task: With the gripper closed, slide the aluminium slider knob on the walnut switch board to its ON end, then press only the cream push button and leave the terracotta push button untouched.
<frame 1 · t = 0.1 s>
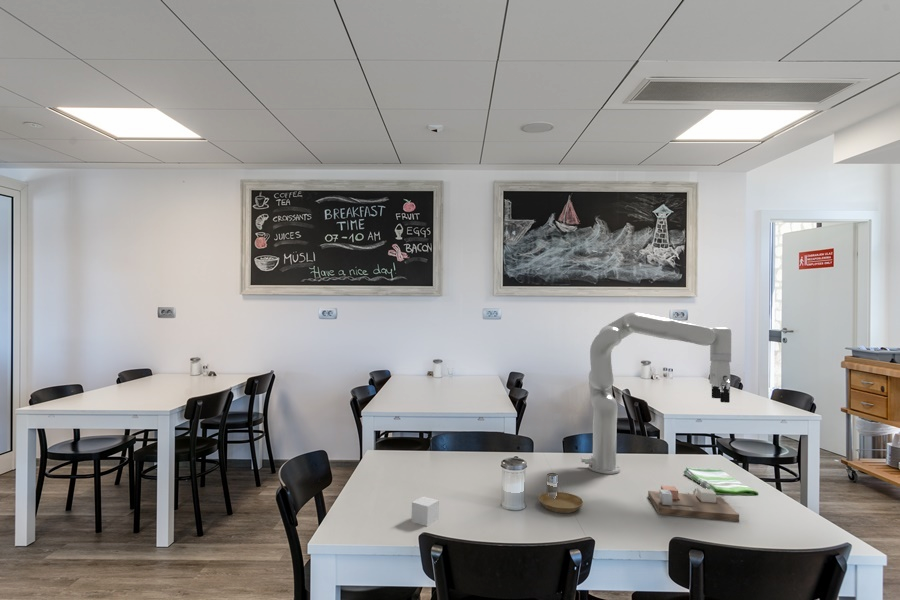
hand: (720, 400, 200), 31 cm above the table, tool pointing down, fingers open, 9 cm apart
terracotta button: (669, 492, 171), point 4 cm above the table, slide at 0.0 cm
dish towel: (719, 485, 192), on the table
switch board: (690, 508, 167), on the table
slider knob: (665, 497, 165), point 4 cm above the table, slide at 0.0 cm
white cube: (425, 521, 153), on the table
plant saucer: (560, 507, 166), on the table
cream button: (706, 495, 169), point 4 cm above the table, slide at 0.0 cm
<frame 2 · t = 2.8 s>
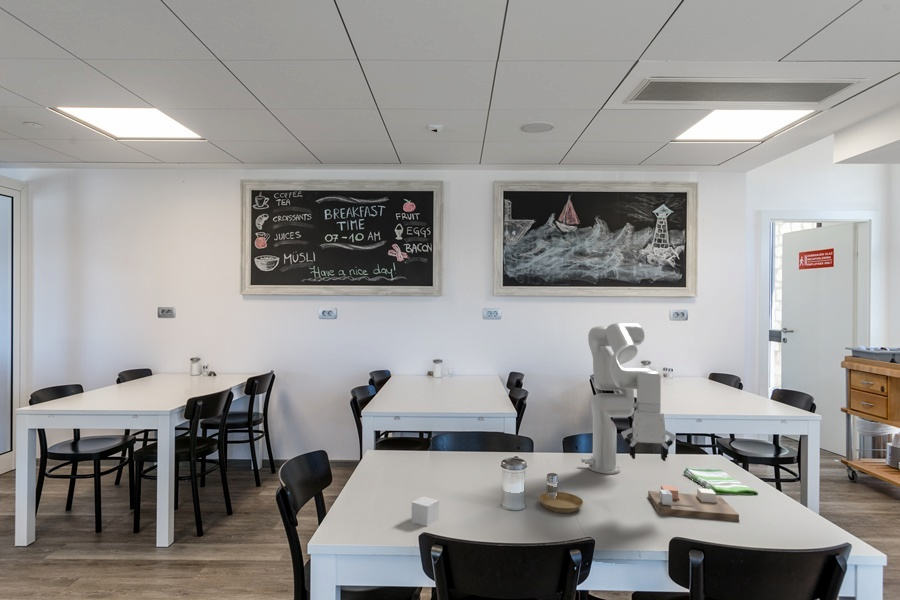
hand: (648, 458, 166), 17 cm above the table, tool pointing down, fingers open, 9 cm apart
nothing on the table moved.
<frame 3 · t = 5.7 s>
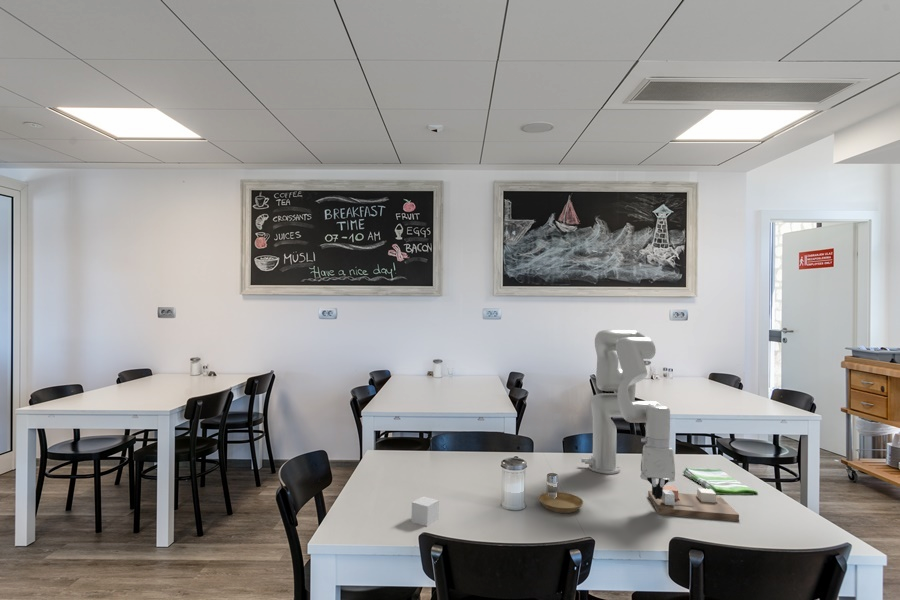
hand: (657, 497, 165), 4 cm above the table, tool pointing down, fingers closed
slider knob: (668, 497, 165), point 4 cm above the table, slide at 0.7 cm, touching gripper
everything else where it was.
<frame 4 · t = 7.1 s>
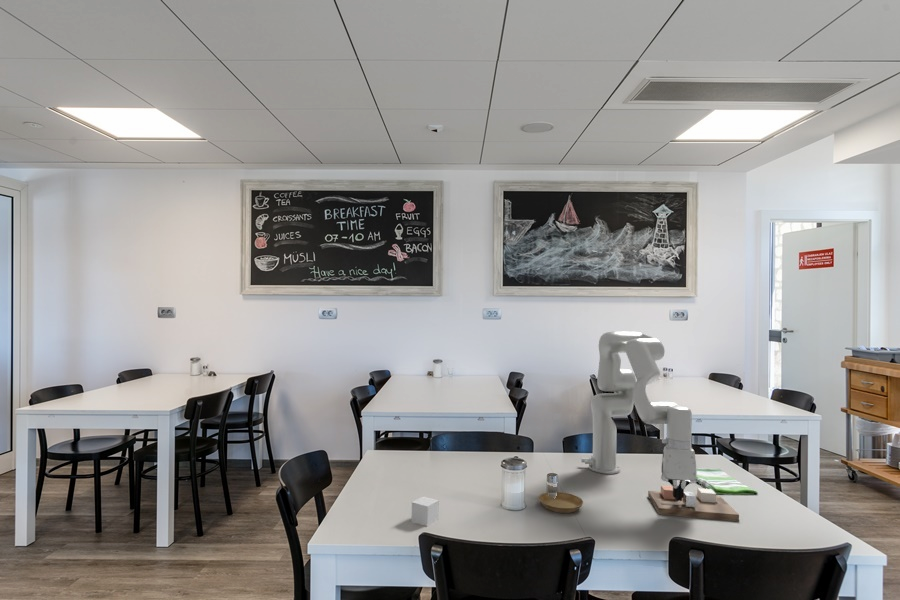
hand: (678, 499, 164), 4 cm above the table, tool pointing down, fingers closed
slider knob: (689, 499, 163), point 4 cm above the table, slide at 7.3 cm, touching gripper
everything else where it was.
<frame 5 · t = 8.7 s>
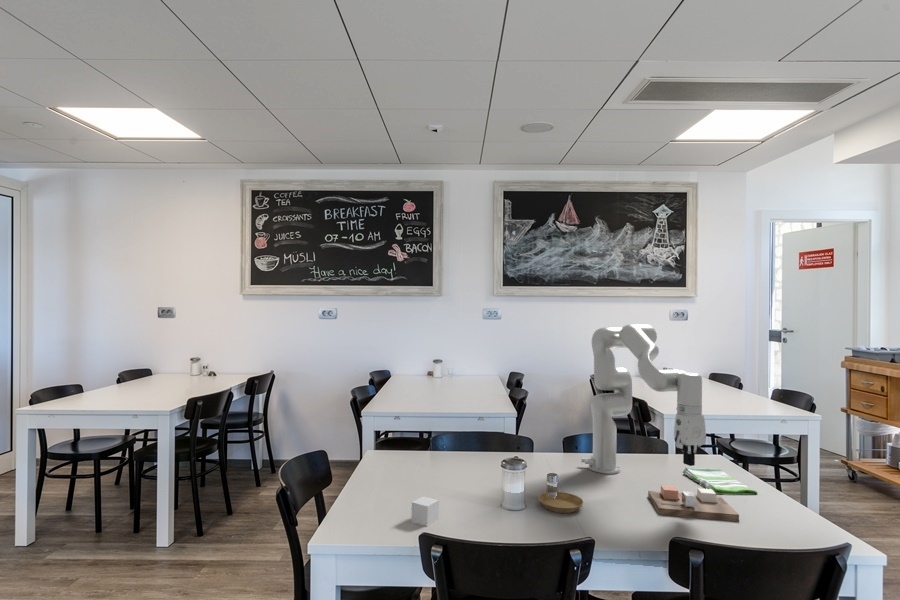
hand: (688, 464, 166), 15 cm above the table, tool pointing down, fingers closed
slider knob: (688, 499, 163), point 4 cm above the table, slide at 7.1 cm
everything else where it was.
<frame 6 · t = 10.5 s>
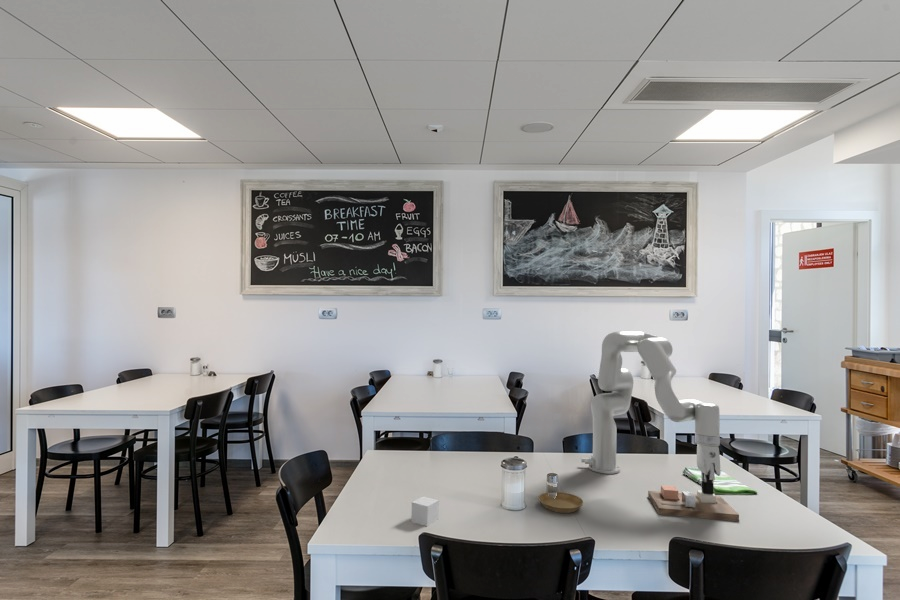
hand: (707, 493, 169), 4 cm above the table, tool pointing down, fingers closed
cream button: (706, 497, 169), point 3 cm above the table, slide at 0.7 cm, touching gripper
everything else where it was.
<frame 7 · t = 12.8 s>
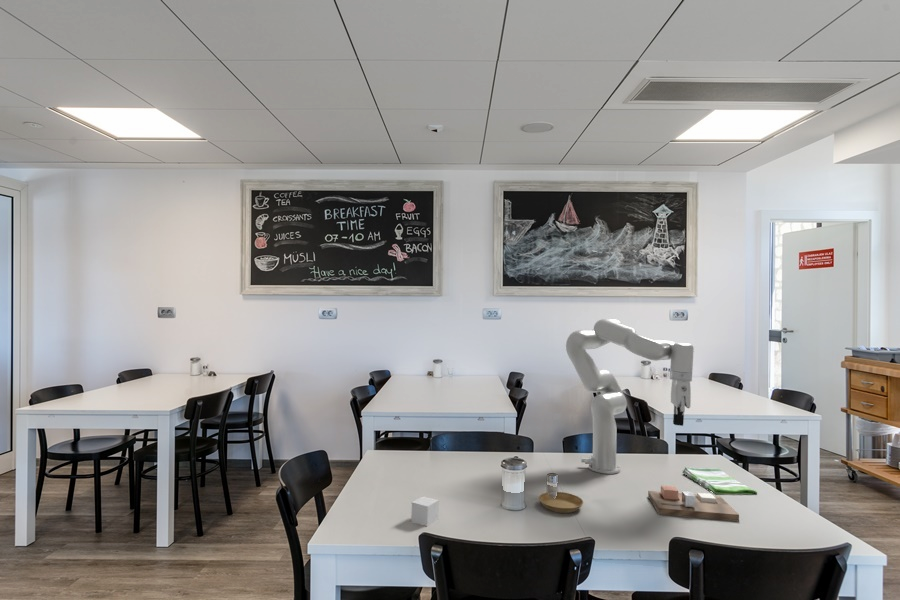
hand: (678, 424, 185), 24 cm above the table, tool pointing down, fingers closed
cream button: (706, 500, 169), point 2 cm above the table, slide at 1.6 cm
everything else where it was.
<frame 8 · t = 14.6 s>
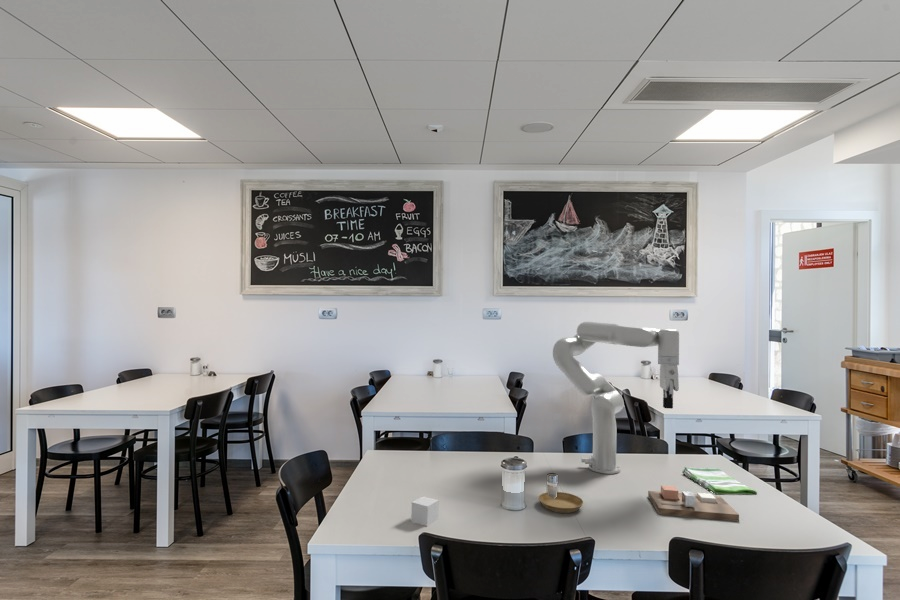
hand: (667, 407, 192), 29 cm above the table, tool pointing down, fingers closed
nothing on the table moved.
at the end: slider knob slide at 7.1 cm; cream button slide at 1.6 cm; terracotta button slide at 0.0 cm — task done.
